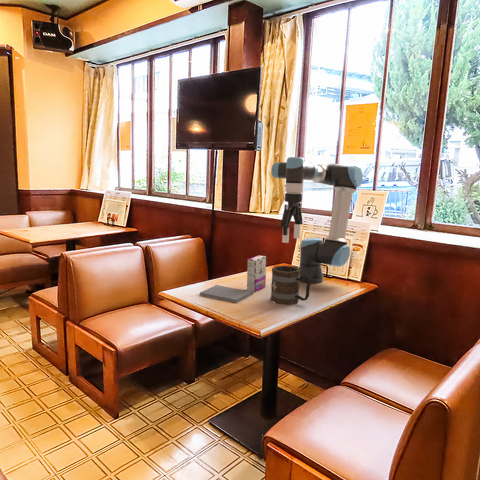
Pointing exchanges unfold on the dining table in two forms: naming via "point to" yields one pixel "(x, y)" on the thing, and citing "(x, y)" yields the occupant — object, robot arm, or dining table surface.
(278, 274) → the mug
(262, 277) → the candy bar box
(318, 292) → the dining table surface
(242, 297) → the slate board
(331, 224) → the robot arm
